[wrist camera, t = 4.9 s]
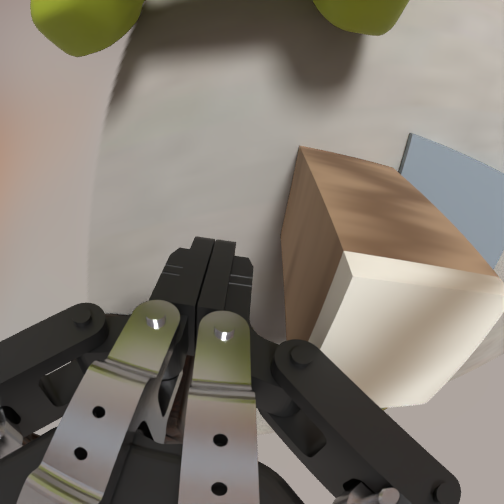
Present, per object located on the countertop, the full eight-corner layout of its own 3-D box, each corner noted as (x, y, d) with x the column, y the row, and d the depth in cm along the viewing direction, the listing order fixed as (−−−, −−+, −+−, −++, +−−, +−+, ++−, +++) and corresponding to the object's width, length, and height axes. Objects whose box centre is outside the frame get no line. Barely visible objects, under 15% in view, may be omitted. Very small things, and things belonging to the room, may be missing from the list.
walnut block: (392, 167, 16) (513, 296, 6) (364, 248, 20) (425, 403, 10) (299, 145, 16) (352, 276, 6) (280, 235, 19) (289, 408, 9)
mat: (527, 186, 16) (529, 188, 15) (476, 292, 22) (478, 295, 21) (409, 132, 15) (412, 134, 15) (359, 278, 21) (361, 281, 21)
